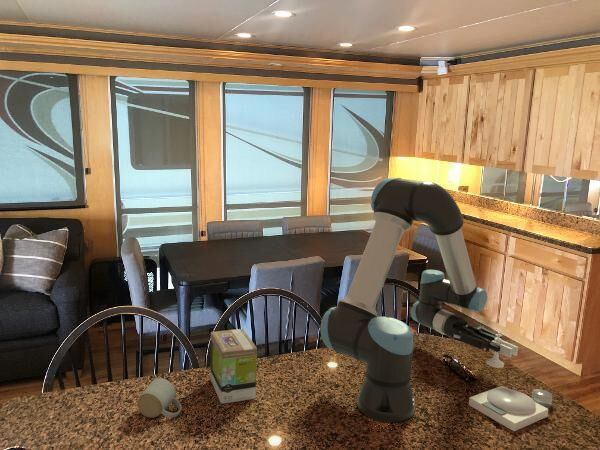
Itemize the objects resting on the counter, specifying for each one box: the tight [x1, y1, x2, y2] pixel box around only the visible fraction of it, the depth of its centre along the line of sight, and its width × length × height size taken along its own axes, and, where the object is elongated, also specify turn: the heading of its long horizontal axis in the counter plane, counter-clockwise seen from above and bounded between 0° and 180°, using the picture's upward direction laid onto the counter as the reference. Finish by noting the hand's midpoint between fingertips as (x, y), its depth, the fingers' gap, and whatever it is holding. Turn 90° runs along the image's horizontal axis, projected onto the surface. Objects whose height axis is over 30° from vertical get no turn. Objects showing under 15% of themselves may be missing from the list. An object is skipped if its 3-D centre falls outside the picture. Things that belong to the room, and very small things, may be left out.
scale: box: [468, 385, 549, 432], centre depth 134 cm, size 14×14×3 cm
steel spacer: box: [531, 388, 553, 409], centre depth 138 cm, size 5×5×3 cm
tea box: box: [209, 328, 258, 404], centre depth 139 cm, size 15×10×15 cm
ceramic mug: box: [136, 377, 183, 419], centre depth 127 cm, size 10×8×7 cm
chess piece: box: [485, 331, 505, 369], centre depth 149 cm, size 5×5×10 cm
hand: (513, 352), depth 144 cm, fingers closed on chess piece, 2 cm apart
